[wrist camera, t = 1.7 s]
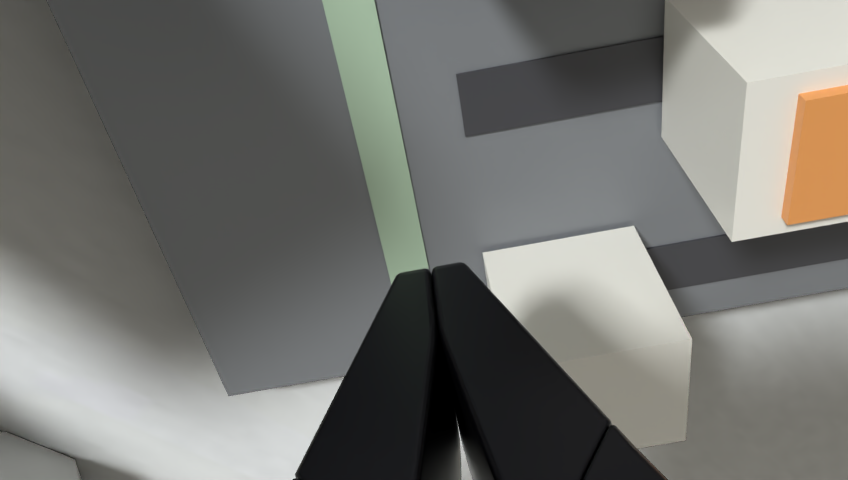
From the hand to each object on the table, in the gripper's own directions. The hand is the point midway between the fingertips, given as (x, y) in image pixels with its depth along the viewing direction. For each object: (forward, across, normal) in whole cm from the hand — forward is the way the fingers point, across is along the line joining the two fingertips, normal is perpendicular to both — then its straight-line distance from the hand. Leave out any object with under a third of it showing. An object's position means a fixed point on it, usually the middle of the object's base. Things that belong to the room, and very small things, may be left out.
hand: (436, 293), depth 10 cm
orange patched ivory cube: (+5, -6, 0) cm, 8 cm away
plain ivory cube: (+5, -2, +4) cm, 7 cm away
